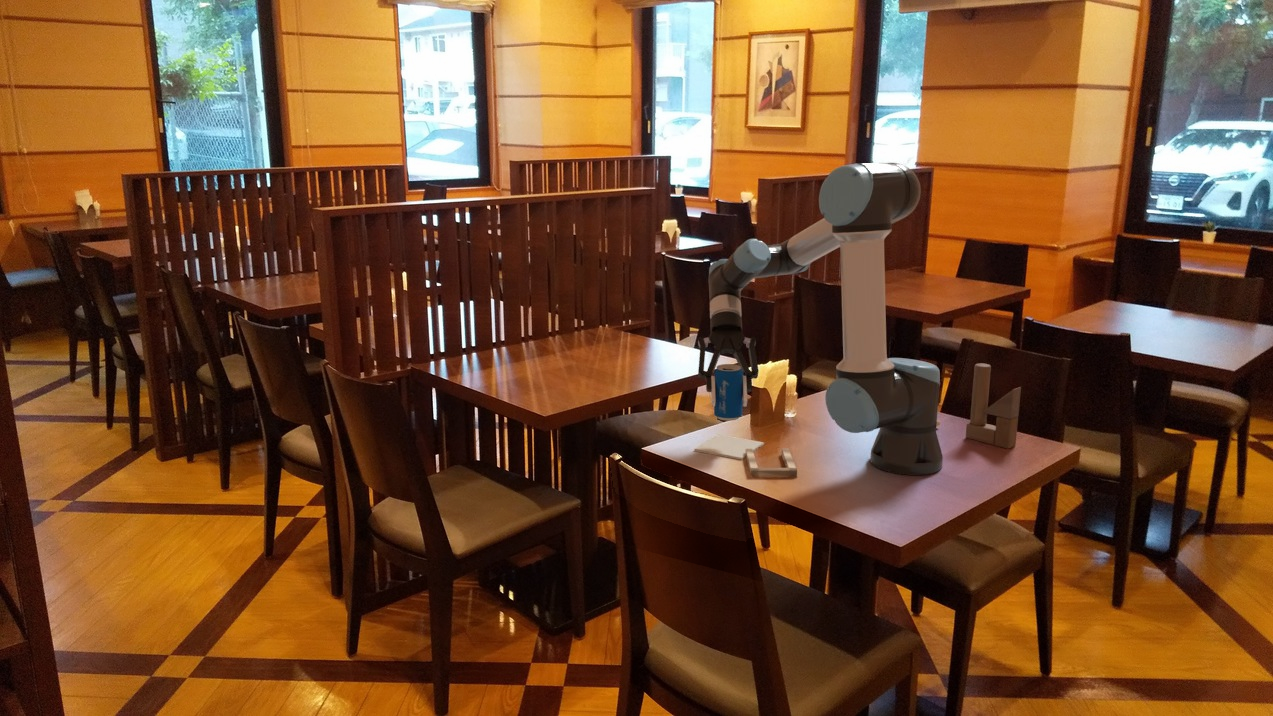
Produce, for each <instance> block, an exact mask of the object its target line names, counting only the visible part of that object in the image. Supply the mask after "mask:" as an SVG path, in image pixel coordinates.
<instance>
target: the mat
mask: <svg viewBox="0 0 1273 716" xmlns="http://www.w3.org/2000/svg"><path fill="white" fill-rule="evenodd" d="M763 445H765V441H764V442H763V441H759V440H754V439H753V440H752V439H745V438H741V437H734V436H729V435H724V434H719V433H718V434H716V435H715V436H713V437H711V438H710V439H708V440H706V441H705V442H703V443H702V444H700V445H698V446H696V447H695V448H693V449H694V452H699V453H704V454H710V455H714V456H719V457H725V458H730V459H735V460H740V461H742V460H744V459H745V458H746V449H753V453H754V452H755V451H757V450H759V449H760V448H761V447H762V446H763ZM759 447H760V448H759ZM756 449H757V450H756Z"/></svg>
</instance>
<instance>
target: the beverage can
mask: <svg viewBox="0 0 1273 716" xmlns="http://www.w3.org/2000/svg"><path fill="white" fill-rule="evenodd" d="M714 376H715V399H716V402H715V407H713V415H714V416H715V417H717V419H718V420H720V421H728V422H729V421H730V422H731V421H732V422H733V421H737V420H738V419H740V418H741V417H742V416H743V371H742V370H741V366H739V365H738V364H733V363H724V364H723V363H722V364H718V365H716V368H715V370H714Z"/></svg>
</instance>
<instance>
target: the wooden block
mask: <svg viewBox="0 0 1273 716" xmlns="http://www.w3.org/2000/svg"><path fill="white" fill-rule="evenodd" d="M991 371H992V366H991V364H989V363H988V364H987V363H982V362H981V363H976V364H975V365H974V370H973V380H972V382H973V383H972V393H971V406H970V407H971V408H970V418H969V420H970V421H969V422H968V423H966V430H965V438H966V439H969V440H973V441H978V442H980V443H981V442H982V443H985V444H988V445H994V447H995V446H996V447H1000V448H1003V449H1007V450H1008V449H1011V448H1013V447H1016V444H1017V434H1018V423H1019V414H1020V413H1019V412H1020V403H1021V390H1022V386H1019V387H1016V388H1013V389H1012V390H1011V391H1009V392H1008V393H1006V394H1005V395H1004V396H1002V397H1001V398H1000V399H998V400H997V401H995V402H994V403H992V404H991V405H989V406H988V404H989V395H990V382H991ZM988 415H991V416H995V417H996V419H995V421H996V422H995V425H993V424H989V423H987V420H988V419H987V417H988Z"/></svg>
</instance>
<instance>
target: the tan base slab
mask: <svg viewBox="0 0 1273 716" xmlns="http://www.w3.org/2000/svg"><path fill="white" fill-rule="evenodd" d="M781 457H782V460H783V462H785V463H784V465H786V466H785V467H759V466H758V464H757V459H756V457H755V453H754V452H753V449H746V457H745V458H746V461H747V462H746V463H747V466H748V470H749V474H750V477H751V478H798V470H797V467H796V465H795V462H794V460H793V456H792V454H791V452H790V449H789V448H781Z"/></svg>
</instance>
